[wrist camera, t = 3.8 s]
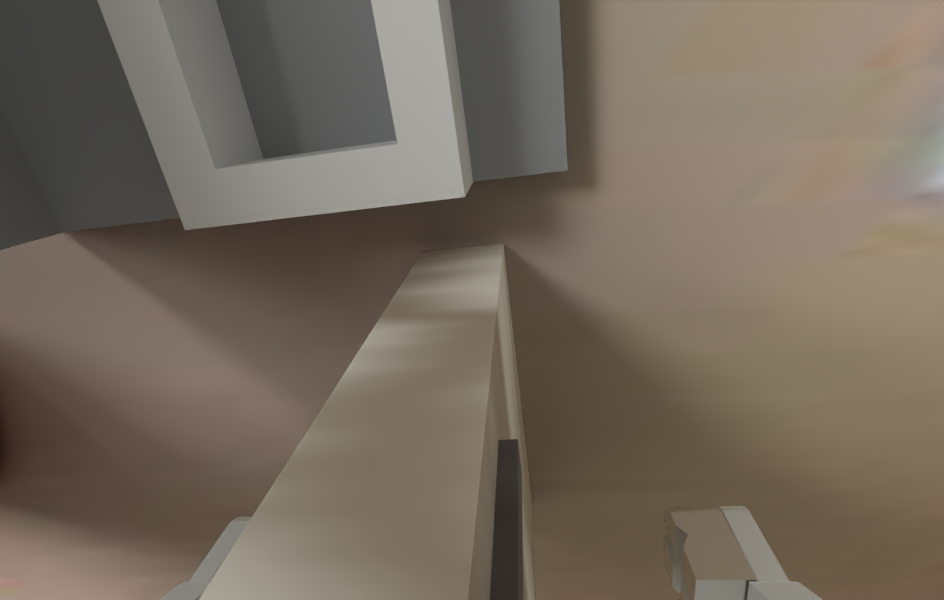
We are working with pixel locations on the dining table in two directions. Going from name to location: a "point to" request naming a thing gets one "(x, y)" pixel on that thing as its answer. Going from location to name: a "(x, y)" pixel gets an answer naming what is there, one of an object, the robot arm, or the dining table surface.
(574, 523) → the dining table surface
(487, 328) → the door panel
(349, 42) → the grey tablet stand
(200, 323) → the dining table surface
